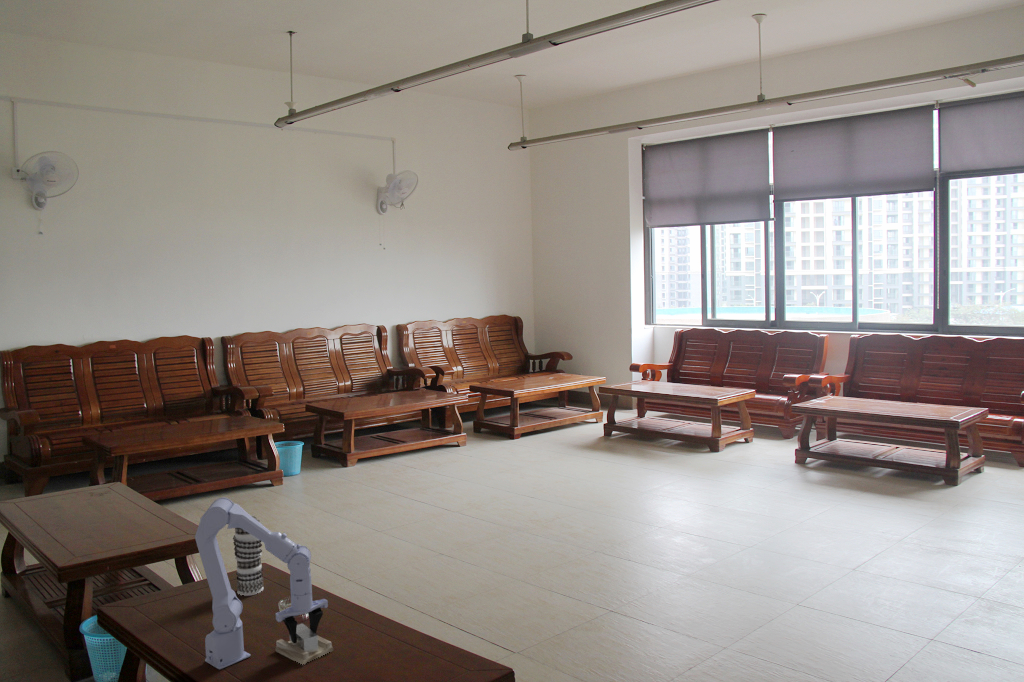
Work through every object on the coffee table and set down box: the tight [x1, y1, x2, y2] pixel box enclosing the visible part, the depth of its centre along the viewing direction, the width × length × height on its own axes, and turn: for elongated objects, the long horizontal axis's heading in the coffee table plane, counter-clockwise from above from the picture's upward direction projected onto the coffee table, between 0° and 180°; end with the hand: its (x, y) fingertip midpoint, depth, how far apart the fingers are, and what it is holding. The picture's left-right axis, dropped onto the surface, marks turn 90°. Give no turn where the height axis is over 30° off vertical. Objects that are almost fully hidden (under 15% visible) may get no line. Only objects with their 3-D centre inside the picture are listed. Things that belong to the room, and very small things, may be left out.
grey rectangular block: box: [289, 623, 319, 654], centre depth 218 cm, size 4×10×4 cm, turn 39°
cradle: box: [274, 635, 334, 666], centre depth 218 cm, size 10×13×3 cm
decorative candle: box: [232, 515, 264, 597], centre depth 261 cm, size 9×9×25 cm
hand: (303, 638), depth 218 cm, fingers open, 5 cm apart
